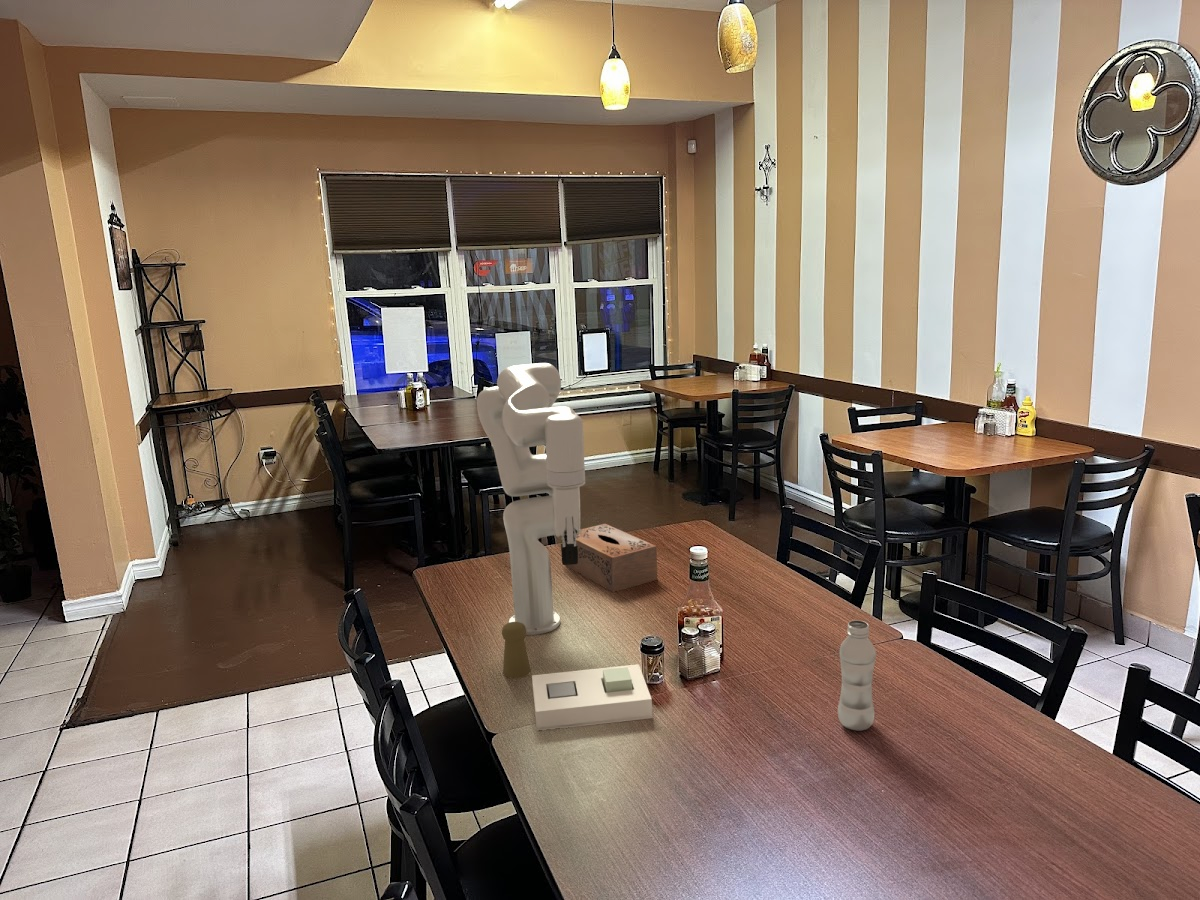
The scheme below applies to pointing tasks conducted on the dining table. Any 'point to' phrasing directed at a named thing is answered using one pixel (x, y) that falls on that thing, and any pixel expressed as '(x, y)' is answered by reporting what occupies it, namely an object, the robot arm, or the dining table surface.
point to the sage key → (617, 680)
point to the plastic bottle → (857, 677)
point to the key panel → (589, 699)
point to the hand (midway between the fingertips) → (569, 562)
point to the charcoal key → (561, 690)
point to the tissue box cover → (615, 558)
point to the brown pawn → (515, 651)
